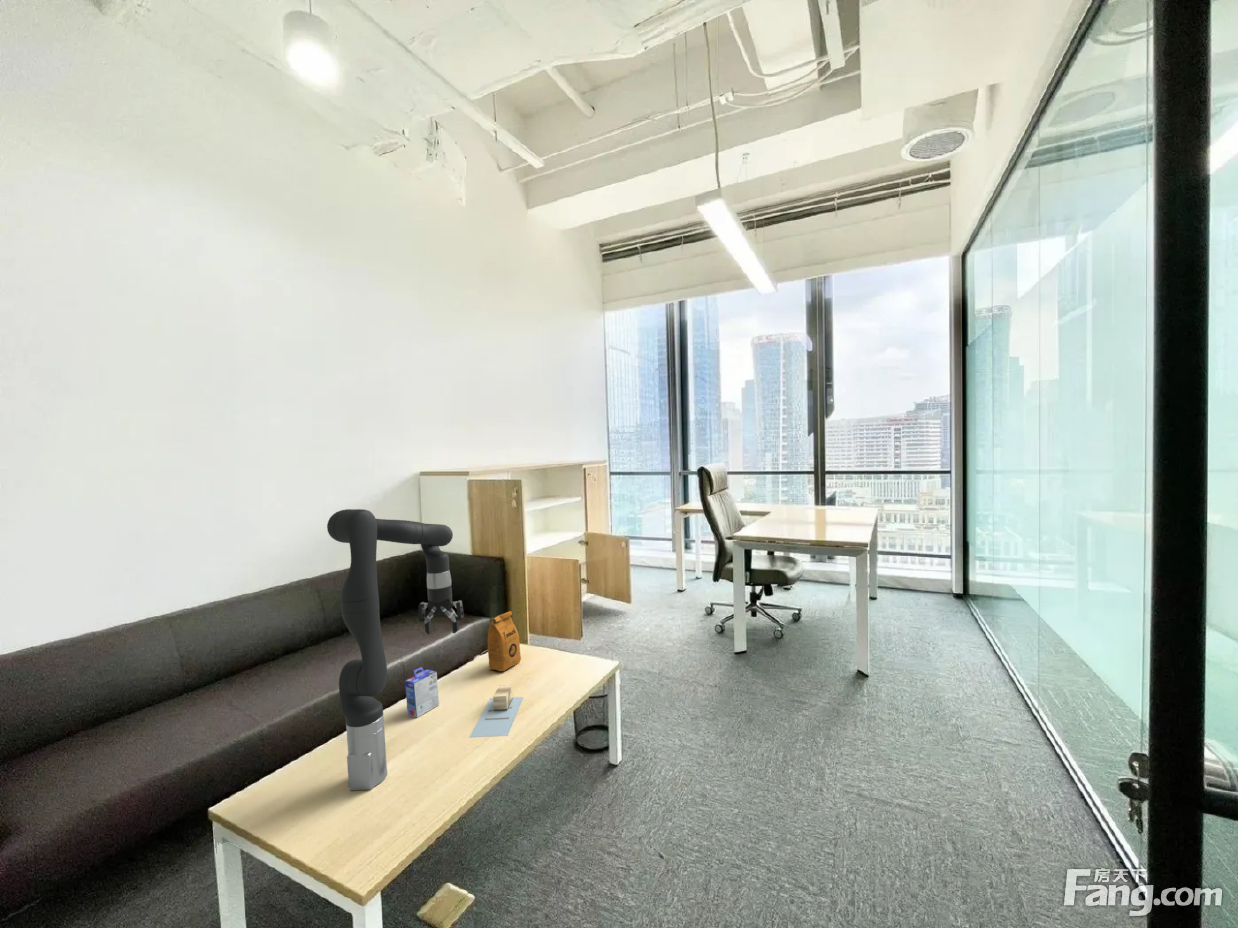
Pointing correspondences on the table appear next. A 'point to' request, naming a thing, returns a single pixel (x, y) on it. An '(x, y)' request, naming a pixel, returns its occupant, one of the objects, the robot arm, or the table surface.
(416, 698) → the ink cartridge box
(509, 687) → the block
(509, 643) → the coffee package
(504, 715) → the board
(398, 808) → the table surface
